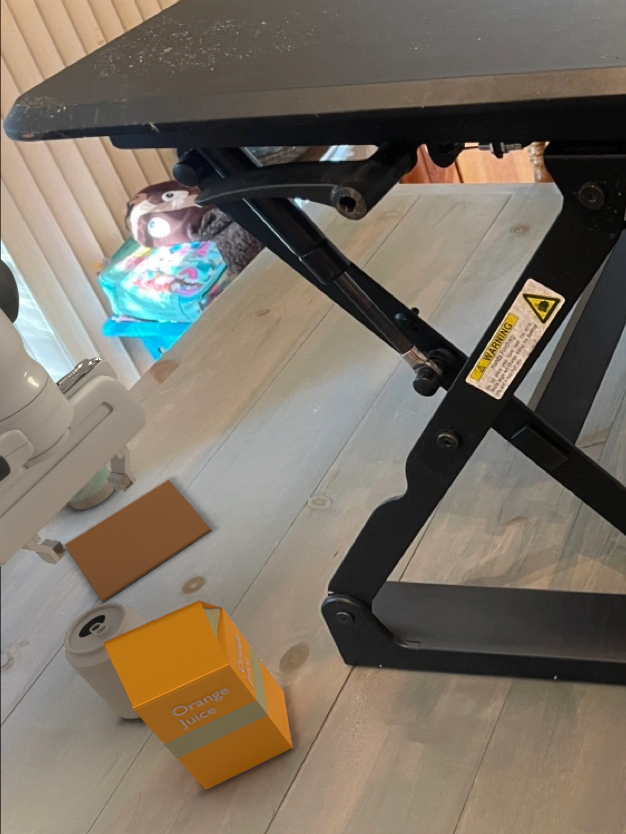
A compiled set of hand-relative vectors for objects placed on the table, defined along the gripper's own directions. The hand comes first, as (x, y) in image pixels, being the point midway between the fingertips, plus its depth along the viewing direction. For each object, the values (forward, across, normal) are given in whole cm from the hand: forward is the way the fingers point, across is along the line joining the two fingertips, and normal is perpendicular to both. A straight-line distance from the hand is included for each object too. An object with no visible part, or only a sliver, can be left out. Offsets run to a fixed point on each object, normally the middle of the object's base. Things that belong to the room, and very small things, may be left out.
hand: (93, 520), depth 105 cm
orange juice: (+22, +8, +14) cm, 27 cm away
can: (+22, +6, -1) cm, 23 cm away
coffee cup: (+22, -18, -33) cm, 44 cm away
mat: (+22, -13, -20) cm, 32 cm away
